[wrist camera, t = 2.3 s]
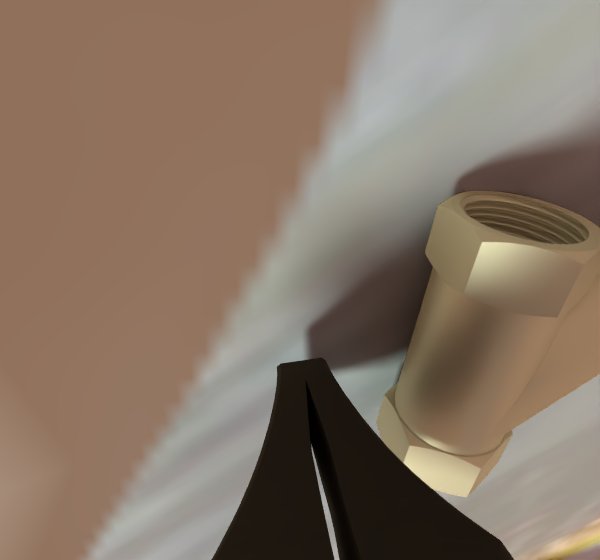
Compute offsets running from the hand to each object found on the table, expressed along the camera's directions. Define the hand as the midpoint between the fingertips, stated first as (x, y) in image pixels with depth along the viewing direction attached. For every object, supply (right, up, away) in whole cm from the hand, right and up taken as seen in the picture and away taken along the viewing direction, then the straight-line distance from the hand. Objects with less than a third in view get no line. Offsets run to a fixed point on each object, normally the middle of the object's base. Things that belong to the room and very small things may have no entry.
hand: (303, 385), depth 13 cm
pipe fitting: (+6, +2, +1) cm, 7 cm away
